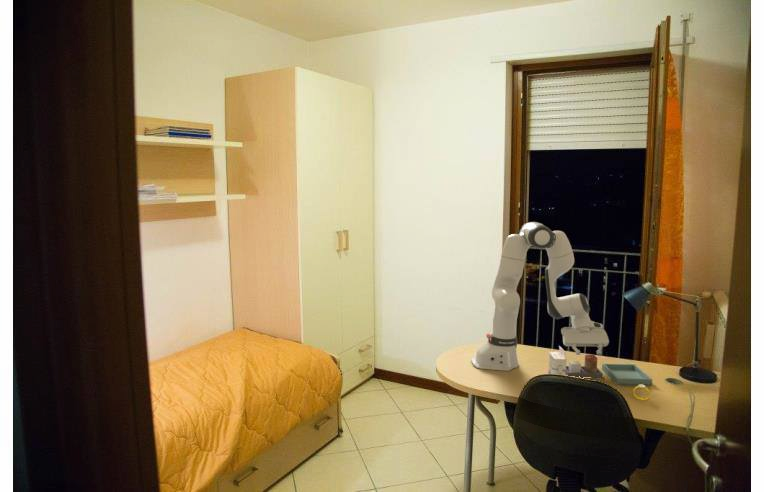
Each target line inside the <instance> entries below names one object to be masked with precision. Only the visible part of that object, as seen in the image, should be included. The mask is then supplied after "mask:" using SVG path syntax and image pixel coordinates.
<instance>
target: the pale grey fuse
mask: <svg viewBox="0 0 764 492" xmlns="http://www.w3.org/2000/svg"><path fill="white" fill-rule="evenodd" d="M568 366H569V369H568V371H569V372H580V370H581V366H582V364H581V363H580V362H579V361H578V360H568Z"/></svg>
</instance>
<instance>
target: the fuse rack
mask: <svg viewBox="0 0 764 492" xmlns="http://www.w3.org/2000/svg"><path fill="white" fill-rule="evenodd" d="M584 368H585V365H581V370H580V372H569V371H568V369H569V365H566V369H565V374H566V375H568V376H575V377H579V376H580V377H581V378H583V377H591V378H603V377H604V374H603V371H601V370H600V369H599V368H598V367H597V373H586V372H585V371H584ZM566 375H565V376H566ZM581 378H580V379H581Z"/></svg>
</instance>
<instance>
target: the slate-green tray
mask: <svg viewBox="0 0 764 492" xmlns="http://www.w3.org/2000/svg"><path fill="white" fill-rule="evenodd" d="M601 365H602V367H601V370H602V372H604V373H605V375H606V376H607V377H608V378H610V380H612V382H613V381H614V382H615V383H616V384H615V385H616V386H632V387H633V386H635V387H636V386H638V385H639V384H642V385H645V386H646V387H652V385H653V378H651V377H650V376H649V375H648V374H646V372H644V371H643V370H642V369H641V368H640V367H639V366H638V365H636V364H634V363H602V364H601ZM614 382H613V383H614Z"/></svg>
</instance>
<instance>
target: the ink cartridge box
mask: <svg viewBox="0 0 764 492" xmlns="http://www.w3.org/2000/svg"><path fill="white" fill-rule="evenodd" d="M558 348H559V349H558V350H559V351H549V353H548V355H549V356H548V374H558V375H565V369H566V366H567V357H566V356H567V355H566V351H565V350H564V349H563V348H562V347H561V346H560V345H558ZM548 374H547V375H548ZM565 376H566V375H565Z"/></svg>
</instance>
